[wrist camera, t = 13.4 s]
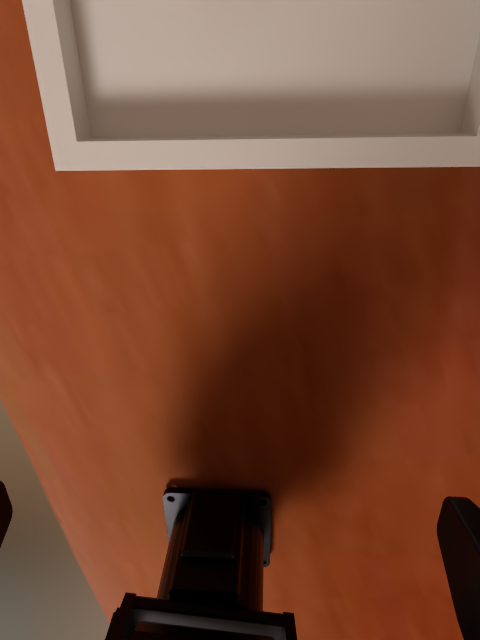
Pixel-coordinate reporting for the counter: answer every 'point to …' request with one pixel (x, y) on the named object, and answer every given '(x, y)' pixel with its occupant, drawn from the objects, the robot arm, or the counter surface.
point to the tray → (258, 83)
